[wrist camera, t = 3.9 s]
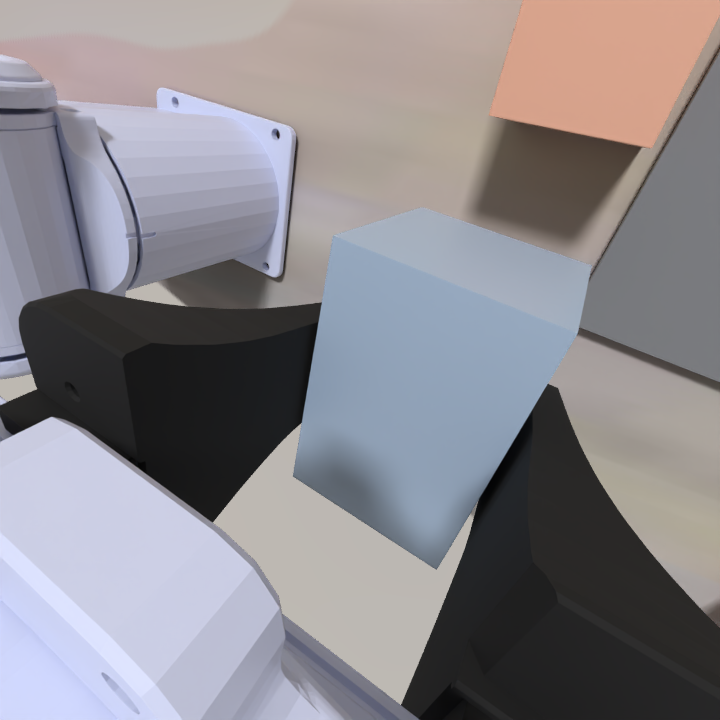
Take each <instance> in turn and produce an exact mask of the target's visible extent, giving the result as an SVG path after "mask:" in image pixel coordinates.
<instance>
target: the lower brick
mask: <svg viewBox="0 0 720 720" xmlns="http://www.w3.org/2000/svg"><path fill="white" fill-rule="evenodd" d="M591 267H592V265H589V264H586V263H583V262H580V261H577V260H574V259H572V258H569V257H566V256H563V255H560V254H557V253H554V252H551V251H548V250H545V249H543V248H540V247H537V246H534V245H531V244H528V243H525V242H522V241H519V240H516V239H514V238H511V237H508V236H505V235H502V234H499V233H496V232H493V231H490V230H487V229H484V228H482V227H479V226H476V225H473V224H470V223H467V222H464V221H461V220H458V219H455V218H453V217H450V216H447V215H444V214H441V213H438V212H435V211H432V210H429V209H426V208H424V207H421V208H418V209H415V210H412V211H409V212H405V213H402V214H399V215H396V216H393V217H390V218H387V219H383V220H380V221H377V222H374V223H371V224H368V225H364V226H361V227H358V228H355V229H352V230H349V231H346V232H342V233H339V234H336V235H333V239H332V245H331V251H330V257H329V263H328V269H327V275H326V281H325V287H324V293H323V299H322V305H321V311H320V317H319V323H318V329H317V335H316V341H315V347H314V353H313V359H312V365H311V371H310V377H309V383H308V389H307V395H306V401H305V407H304V413H303V419H302V425H301V431H300V437H299V443H298V449H297V455H296V461H295V467H294V473H293V477H295V478H296V479H298V480H299V481H301V482H302V483H304V484H305V485H307V486H308V487H310V488H312V489H313V490H315V491H316V492H318V493H319V494H321V495H322V496H324V497H325V498H327V499H328V500H330V501H332V502H333V503H335V504H336V505H338V506H339V507H341V508H342V509H344V510H345V511H347V512H349V513H350V514H352V515H353V516H355V517H356V518H358V519H359V520H361V521H362V522H364V523H365V524H367V525H368V526H370V527H371V528H373V529H375V530H376V531H378V532H379V533H381V534H382V535H384V536H385V537H387V538H388V539H390V540H391V541H393V542H395V543H396V544H398V545H399V546H401V547H402V548H404V549H405V550H407V551H408V552H410V553H411V554H413V555H415V556H416V557H418V558H419V559H421V560H422V561H424V562H425V563H427V564H428V565H430V566H431V567H433V568H435V569H437V568H438V567H439V565H440V563H441V562H442V560H443V558H444V557H445V555H446V553H447V552H448V550H449V548H450V547H451V545H452V543H453V542H454V540H455V538H456V537H457V535H458V533H459V531H460V530H461V528H462V526H463V525H464V523H465V521H466V520H467V518H468V516H469V515H470V513H471V511H472V510H473V508H474V506H475V505H476V503H477V501H478V500H479V498H480V496H481V495H482V493H483V491H484V490H485V488H486V486H487V485H488V483H489V481H490V480H491V478H492V476H493V475H494V473H495V471H496V470H497V468H498V466H499V465H500V463H501V461H502V459H503V458H504V456H505V454H506V453H507V451H508V449H509V448H510V446H511V444H512V443H513V441H514V439H515V438H516V436H517V434H518V433H519V431H520V429H521V428H522V426H523V424H524V423H525V421H526V419H527V418H528V416H529V414H530V413H531V411H532V409H533V408H534V406H535V404H536V403H537V401H538V399H539V397H540V396H541V394H542V392H543V391H544V389H545V387H546V386H547V384H548V382H549V381H550V379H551V377H552V376H553V374H554V372H555V371H556V369H557V367H558V366H559V364H560V362H561V361H562V359H563V357H564V356H565V354H566V352H567V351H568V349H569V347H570V346H571V344H572V342H573V341H574V339H575V337H576V336H577V334H578V330H579V325H580V320H581V315H582V310H583V306H584V301H585V296H586V291H587V286H588V281H589V276H590V271H591Z"/></svg>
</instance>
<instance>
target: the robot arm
mask: <svg viewBox="0 0 720 720" xmlns="http://www.w3.org/2000/svg"><path fill="white" fill-rule="evenodd" d="M178 103H179V104H178ZM277 130H278V131H279V133H280V137H279V139H278V138H277ZM295 145H296V134H295V131H294V130H293V128H292V127H290V126H288V125H285V124H281V123H278V122H275V121H272V120H268V119H265V118H262V117H259V116H255V115H252V114H249V113H246V112H242V111H239V110H236V109H233V108H229V107H226V106H223V105H220V104H216V103H213V102H210V101H207V100H203V99H200V98H197V97H194V96H190V95H187V94H184V93H181V92H177V91H174V90H171V89H168V88H159V89H158V91H157V108H150V107H138V106H125V105H113V104H100V103H88V102H76V101H63V100H57V96H56V89H55V87H54V85H53V84H52V83H51V82H50V81H49V80H47V79H44V78H42V77H41V75H40V74H39V73H38V72H37V71H36V70H35V69H34V68H33V67H32V66H30V65H29V64H28V63H27V62H26V61H23V60H20V59H17V58H14V57H10V56H6V55H1V54H0V379H7V378H14V377H19V376H24V375H29V374H32V375H33V378H34V381H35V384H36V387H37V390H34V391H32V392H30V393H27V394H25V395H23V396H20V397H18V398H16V399H13V400H11V401H9V402H7V401H6V400H5V399H3V398H2V397H1V396H0V720H720V628H719V627H718V626H717V625H716V624H715V623H714V622H713V621H712V620H711V619H710V618H709V617H708V616H707V615H706V614H705V613H704V612H703V611H702V610H701V609H700V608H699V607H698V606H697V605H696V603H695V602H694V601H693V600H692V599H691V598H690V597H689V596H688V595H687V594H686V592H685V591H684V590H683V589H682V588H681V587H680V586H679V585H678V584H677V583H676V582H675V580H674V579H673V578H672V577H671V576H670V575H669V574H668V573H667V571H666V570H665V569H664V568H663V567H662V566H661V564H660V563H659V562H658V561H657V560H656V559H655V557H654V556H653V555H652V554H651V553H650V551H649V550H648V549H647V548H646V546H645V545H644V544H643V542H642V541H641V540H640V539H639V537H638V536H637V535H636V533H635V532H634V531H633V530H632V528H631V527H630V526H629V524H628V523H627V522H626V520H625V519H624V518H623V516H622V515H621V513H620V512H619V511H618V509H617V508H616V506H615V505H614V503H613V502H612V500H611V499H610V497H609V495H608V494H607V492H606V491H605V489H604V488H603V486H602V485H601V483H600V481H599V480H598V478H597V476H596V475H595V473H594V471H593V469H592V467H591V465H590V463H589V461H588V460H587V458H586V456H585V454H584V452H583V450H582V448H581V446H580V444H579V441H578V439H577V437H576V435H575V432H574V430H573V428H572V425H571V423H570V420H569V417H568V415H567V412H566V409H565V406H564V404H563V401H562V398H561V395H560V393H559V390H558V388H556V387H554V386H552V385H549V384H547V386H546V387H545V389H544V391H543V392H542V394H541V396H540V397H539V399H538V401H537V403H536V404H535V406H534V408H533V409H532V411H531V413H530V414H529V416H528V418H527V419H526V421H525V423H524V424H523V426H522V428H521V429H520V431H519V433H518V434H517V436H516V438H515V439H514V441H513V443H512V444H511V446H510V448H509V449H508V451H507V453H506V454H505V456H504V458H503V459H502V461H501V463H500V465H499V466H498V468H497V470H496V471H495V473H494V475H493V476H492V478H491V480H490V481H489V483H488V485H487V486H486V488H485V490H484V491H483V493H482V495H481V496H480V498H479V501H478V504H477V508H476V512H475V516H474V519H473V523H472V527H471V531H470V535H469V537H468V540H467V544H466V547H465V550H464V553H463V555H462V558H461V560H460V563H459V565H458V568H457V570H456V573H455V575H454V578H453V580H452V583H451V585H450V588H449V591H448V593H447V595H446V598H445V600H444V603H443V605H442V608H441V610H440V613H439V615H438V618H437V620H436V623H435V625H434V628H433V630H432V633H431V635H430V638H429V640H428V642H427V644H426V647H425V649H424V652H423V654H422V657H421V659H420V661H419V664H418V666H417V669H416V671H415V673H414V676H413V678H412V681H411V683H410V685H409V688H408V690H407V692H406V695H405V697H404V699H403V702H402V704H401V705H400V704H398V703H397V702H396V701H395V700H393V699H392V698H391V697H389V696H388V695H387V694H386V693H384V692H383V691H382V690H380V689H379V688H378V687H376V686H375V685H374V684H372V683H371V682H370V681H369V680H367V679H366V678H365V677H364V676H362V675H361V674H360V673H358V672H357V671H356V670H354V669H353V668H352V667H351V666H349V665H348V664H346V663H345V662H344V661H343V660H342V659H340V658H339V657H338V656H336V655H335V654H334V653H332V652H331V651H330V650H329V649H327V648H326V647H325V646H323V645H322V644H321V643H319V642H318V641H317V640H316V639H314V638H313V637H312V636H310V635H309V634H308V633H307V632H305V631H304V630H303V629H301V628H300V627H299V626H297V625H296V624H295V623H293V622H292V621H291V620H290V619H288V618H287V617H286V616H284V615H283V614H282V611H281V605H280V600H279V596H278V595H277V593H276V591H275V590H274V588H273V587H272V585H271V584H270V582H269V581H268V579H267V578H266V576H265V575H264V573H263V572H262V570H261V569H260V567H259V566H258V564H257V563H256V561H255V560H254V559H253V558H251V556H250V555H248V554H247V553H246V552H245V551H244V550H243V549H242V548H241V547H240V546H239V545H238V544H237V543H236V542H234V540H232V539H231V538H230V537H229V536H228V535H227V534H226V533H225V532H224V531H223V530H222V529H220V528H219V527H218V526H216V525H215V524H213V522H214V520H215V519H216V518H217V517H218V515H219V514H220V513H221V512H222V510H223V509H224V508H225V507H226V505H227V504H228V503H229V502H230V500H231V499H232V498H233V497H234V496H235V494H236V493H237V492H238V491H239V489H240V488H241V487H242V486H243V484H245V482H246V481H247V480H248V479H249V478H250V477H251V475H252V474H253V473H254V472H255V471H256V469H257V468H258V467H259V466H260V465H261V464H262V463H263V461H264V460H265V459H266V458H267V457H268V456H269V455H270V454H271V453H272V452H273V450H274V449H275V448H276V447H277V446H278V445H279V444H280V443H281V442H282V441H283V439H285V438H286V437H287V435H289V434H290V433H291V432H292V431H293V430H294V429H295V428H296V427H297V426H298V425H300V424H301V423H302V419H303V413H304V407H305V401H306V395H307V389H308V383H309V377H310V371H311V365H312V359H313V353H314V347H315V341H316V335H317V329H318V323H319V317H320V311H321V305H322V302H321V303H314V304H306V305H298V306H288V307H277V308H265V309H215V308H200V307H186V306H178V305H169V304H161V303H155V302H149V301H143V300H137V299H131V298H126V297H125V293H126V291H127V290H131V289H134V288H137V287H140V286H144V285H147V284H150V283H154V282H157V281H160V280H164V279H167V278H170V277H174V276H177V275H180V274H184V273H187V272H190V271H194V270H197V269H200V268H203V267H207V266H210V265H213V264H217V263H220V262H223V261H227V260H230V259H234V260H236V261H239V262H241V263H243V264H245V265H247V266H249V267H252V268H254V269H256V270H258V271H260V272H262V273H265V274H267V275H269V276H271V277H278V276H280V275H281V274H282V272H283V264H284V254H285V245H286V235H287V225H288V215H289V205H290V195H291V185H292V175H293V165H294V155H295ZM267 263H268V265H269V268H268V267H267Z"/></svg>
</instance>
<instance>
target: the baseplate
mask: <svg viewBox="0 0 720 720" xmlns="http://www.w3.org/2000/svg"><path fill="white" fill-rule="evenodd" d="M579 327H580V328H582V329H585V330H588V331H590V332H593V333H595V334H598V335H600V336H603V337H605V338H608V339H611V340H613V341H616V342H618V343H621V344H623V345H626V346H628V347H631V348H634V349H636V350H639V351H641V352H644V353H646V354H649V355H651V356H654V357H657V358H659V359H662V360H664V361H667V362H669V363H672V364H674V365H677V366H680V367H682V368H685V369H687V370H690V371H692V372H695V373H697V374H700V375H703V376H705V377H708V378H710V379H713V380H715V381H718V382H720V49H719V51H718V53H717V55H716V56H715V58H714V60H713V62H712V64H711V65H710V67H709V69H708V71H707V72H706V74H705V76H704V78H703V79H702V81H701V83H700V85H699V86H698V88H697V90H696V92H695V94H694V95H693V97H692V99H691V101H690V102H689V104H688V106H687V108H686V109H685V111H684V113H683V115H682V117H681V118H680V120H679V122H678V124H677V125H676V127H675V129H674V131H673V132H672V134H671V136H670V138H669V140H668V141H667V143H666V145H665V147H664V148H663V150H662V152H661V154H660V155H659V157H658V159H657V161H656V163H655V164H654V166H653V168H652V170H651V171H650V173H649V175H648V177H647V178H646V180H645V182H644V184H643V185H642V187H641V189H640V191H639V193H638V194H637V196H636V198H635V200H634V201H633V203H632V205H631V207H630V208H629V210H628V212H627V214H626V216H625V217H624V219H623V221H622V223H621V224H620V226H619V228H618V230H617V231H616V233H615V235H614V237H613V239H612V240H611V242H610V244H609V246H608V247H607V249H606V251H605V253H604V254H603V256H602V258H601V260H600V261H599V263H598V265H597V267H596V269H595V270H594V272H593V274H592V276H591V277H590V279H589V281H588V286H587V291H586V296H585V301H584V306H583V310H582V315H581V320H580V325H579Z"/></svg>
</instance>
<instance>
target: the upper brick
mask: <svg viewBox="0 0 720 720" xmlns="http://www.w3.org/2000/svg"><path fill="white" fill-rule="evenodd" d="M719 16H720V0H523V2H522V5H521V8H520V12H519V15H518V19H517V22H516V25H515V29H514V32H513V35H512V39H511V42H510V45H509V49H508V52H507V55H506V59H505V62H504V66H503V69H502V72H501V76H500V79H499V82H498V86H497V89H496V92H495V96H494V99H493V102H492V106H491V109H490V113H489V115H490V116H494V117H498V118H502V119H506V120H511V121H515V122H520V123H525V124H529V125H534V126H539V127H544V128H549V129H554V130H559V131H564V132H569V133H574V134H579V135H584V136H589V137H594V138H599V139H603V140H608V141H613V142H618V143H623V144H628V145H633V146H638V147H644V148H652V147H653V145H654V143H655V141H656V139H657V137H658V135H659V133H660V131H661V129H662V127H663V125H664V124H665V122H666V120H667V118H668V116H669V114H670V112H671V110H672V108H673V106H674V104H675V102H676V100H677V98H678V96H679V94H680V92H681V90H682V88H683V86H684V84H685V82H686V80H687V78H688V76H689V74H690V72H691V71H692V69H693V67H694V65H695V63H696V61H697V59H698V57H699V55H700V53H701V51H702V49H703V47H704V45H705V43H706V41H707V39H708V37H709V35H710V33H711V31H712V29H713V27H714V25H715V23H716V21H717V19H718V18H719Z"/></svg>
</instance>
